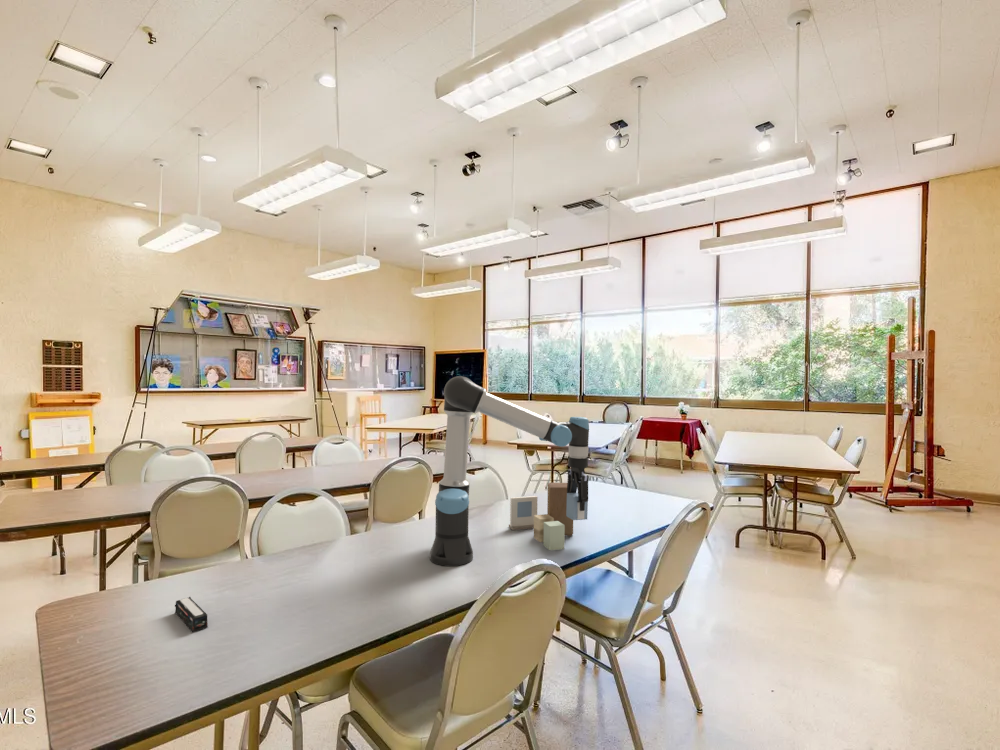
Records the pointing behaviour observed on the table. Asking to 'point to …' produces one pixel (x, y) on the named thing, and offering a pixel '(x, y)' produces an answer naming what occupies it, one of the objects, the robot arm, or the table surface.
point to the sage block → (554, 535)
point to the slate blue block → (574, 506)
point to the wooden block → (559, 505)
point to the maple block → (540, 526)
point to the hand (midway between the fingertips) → (576, 516)
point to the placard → (522, 512)
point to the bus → (191, 614)
